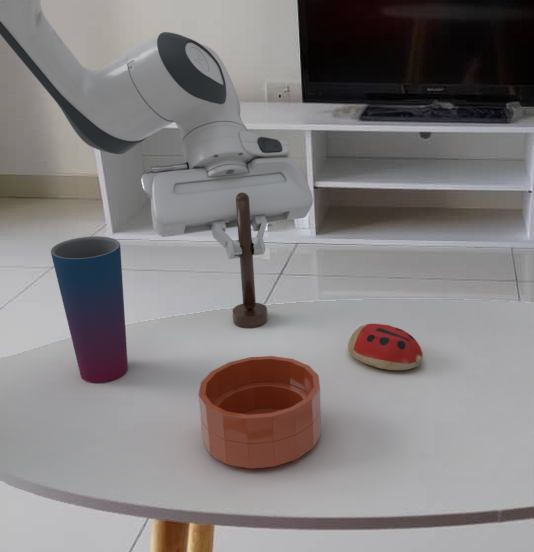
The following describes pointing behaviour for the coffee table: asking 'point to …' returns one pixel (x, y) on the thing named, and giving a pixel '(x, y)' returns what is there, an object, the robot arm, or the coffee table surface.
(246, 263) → the brown rod
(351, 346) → the ladybug figurine
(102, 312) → the cup
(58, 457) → the coffee table surface
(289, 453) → the bowl
